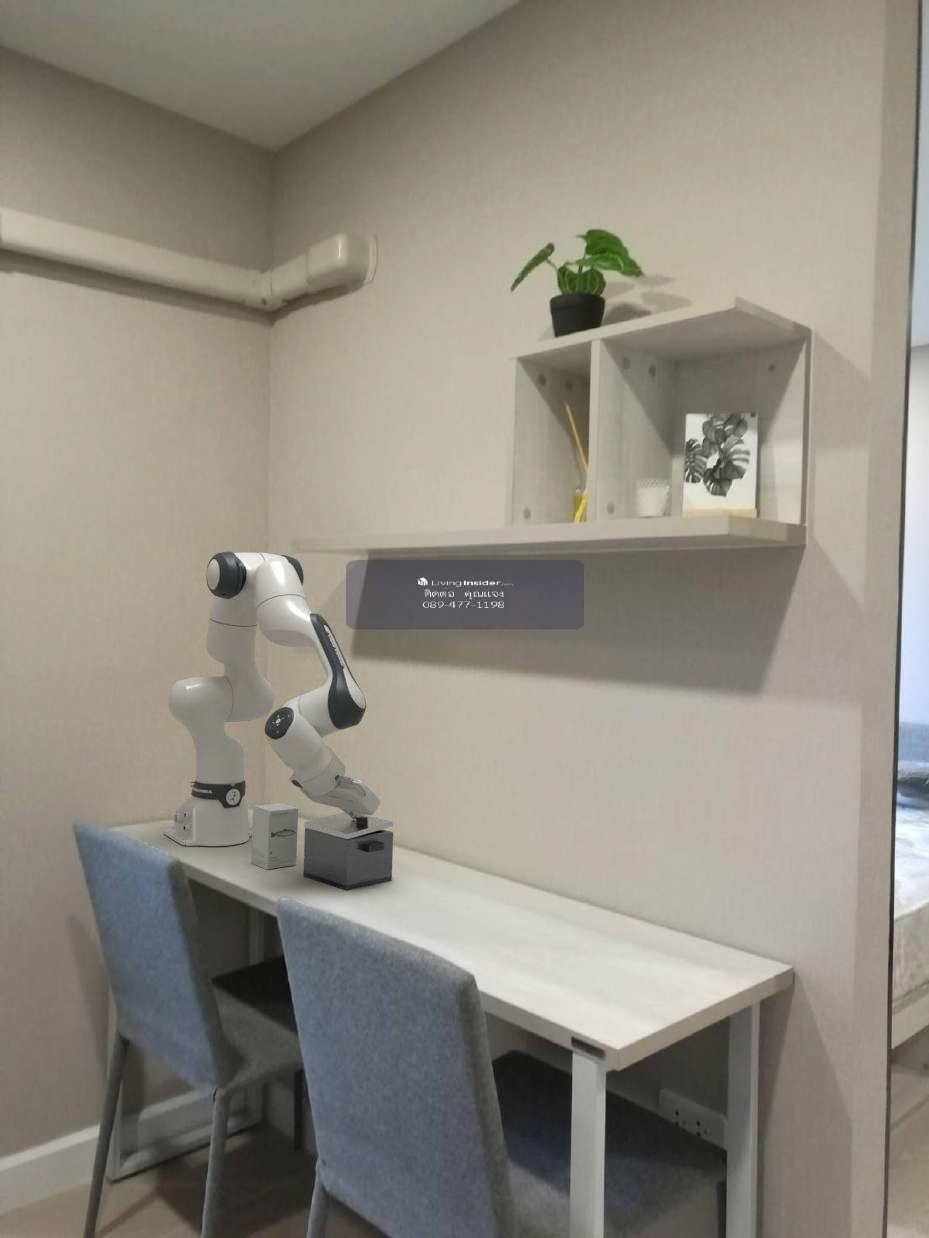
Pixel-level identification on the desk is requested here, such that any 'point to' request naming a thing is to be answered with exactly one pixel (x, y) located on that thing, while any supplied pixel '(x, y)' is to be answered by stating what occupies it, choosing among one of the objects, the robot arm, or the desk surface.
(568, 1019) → the desk surface
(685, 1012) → the desk surface
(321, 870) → the grey storage bin
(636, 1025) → the desk surface
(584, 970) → the desk surface
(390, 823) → the lid
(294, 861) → the supplement box
